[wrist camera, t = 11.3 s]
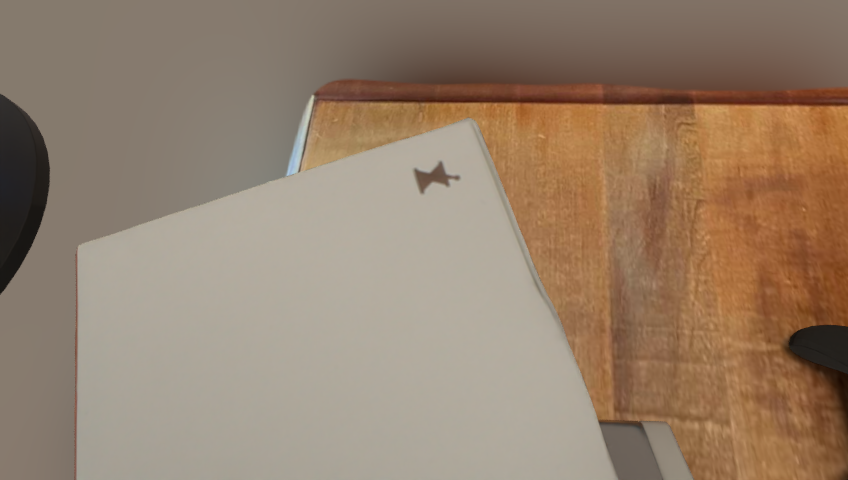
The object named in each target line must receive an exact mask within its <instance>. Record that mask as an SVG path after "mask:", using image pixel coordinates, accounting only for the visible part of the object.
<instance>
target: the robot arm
mask: <svg viewBox="0 0 848 480" xmlns="http://www.w3.org/2000/svg"><path fill="white" fill-rule="evenodd" d="M598 422H599V425H600V428H601V431H602V435H603V438H604V441H605V444H606V447H607V450H608V452H609V455H610V458H611V461H612V463H613V466H614V469H615V471H616V474H617V477H618V479H619V480H694V478H693V476H692V474H691V472H690V470H689V467H688V465H687V463H686V461H685V458H684V456H683V454H682V452H681V450H680V447H679V445H678V443H677V441H676V438H675V436H674V434H673V432H672V429H671V427H670V425H669V424H668V423H666V422H661V421H639V422H638V421H624V420H599V419H598Z"/></svg>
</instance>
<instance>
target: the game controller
mask: <svg viewBox="0 0 848 480" xmlns="http://www.w3.org/2000/svg"><path fill="white" fill-rule="evenodd" d="M789 348H790V349H791V350H792V351H793V352H794V353H795V354H797V355H798V356H800V357H802V358H804V359H806V360H809V361H811V362H813V363H817V364H820V365H823V366H826V367H829V368H832V369H835V370H838V371H841V372H844V373H846V374H848V327H846V326H837V325H820V326H811V327H808V328H804V329H801V330H799V331H797V332H796V333H794V334H793V336H792V337H791V338H790V341H789Z"/></svg>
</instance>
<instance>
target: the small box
mask: <svg viewBox="0 0 848 480" xmlns="http://www.w3.org/2000/svg"><path fill="white" fill-rule="evenodd" d="M75 480H619V479H618V477H617V474H616V471H615V469H614V466H613V463H612V461H611V458H610V455H609V452H608V450H607V447H606V444H605V441H604V438H603V435H602V431H601V428H600V425H599V422H598V419H597V416H596V413H595V410H594V407H593V404H592V401H591V399H590V396H589V393H588V390H587V388H586V385H585V382H584V380H583V377H582V375H581V372H580V370H579V367H578V365H577V363H576V360H575V358H574V355H573V353H572V351H571V349H570V346H569V344H568V341H567V338H566V335H565V332H564V329H563V326H562V323H561V321H560V319H559V317H558V314H557V312H556V310H555V308H554V306H553V304H552V302H551V300H550V298H549V297H548V295H547V293H546V290H545V288H544V286H543V284H542V282H541V280H540V277H539V275H538V273H537V271H536V269H535V266H534V264H533V261H532V259H531V256H530V254H529V251H528V249H527V246H526V243H525V241H524V238H523V236H522V233H521V231H520V229H519V226H518V224H517V221H516V219H515V216H514V214H513V211H512V208H511V206H510V203H509V201H508V198H507V196H506V193H505V190H504V188H503V185H502V183H501V180H500V178H499V175H498V173H497V171H496V168H495V166H494V163H493V161H492V158H491V156H490V153H489V151H488V148H487V146H486V143H485V141H484V138H483V136H482V133H481V131H480V128H479V126H478V124H477V122H476V121H475V120H473V119H471V118H466V119H464V120H461V121H458V122H455V123H453V124H450V125H447V126H445V127H442V128H439V129H436V130H433V131H429V132H426V133H423V134H420V135H417V136H413V137H410V138H407V139H403V140H400V141H397V142H393V143H390V144H387V145H384V146H380V147H377V148H374V149H371V150H368V151H364V152H361V153H358V154H355V155H352V156H348V157H345V158H342V159H339V160H336V161H333V162H330V163H327V164H324V165H321V166H318V167H314V168H311V169H308V170H305V171H302V172H299V173H296V174H293V175H290V176H287V177H283V178H280V179H277V180H274V181H271V182H268V183H265V184H262V185H259V186H256V187H253V188H250V189H247V190H244V191H241V192H238V193H235V194H232V195H229V196H225V197H222V198H219V199H217V200H214V201H211V202H208V203H205V204H202V205H199V206H196V207H192V208H189V209H186V210H183V211H180V212H177V213H174V214H171V215H167V216H164V217H161V218H158V219H155V220H152V221H149V222H146V223H143V224H140V225H137V226H134V227H131V228H129V229H126V230H124V231H121V232H118V233H115V234H112V235H108V236H105V237H102V238H99V239H95V240H92V241H89V242H86V243H83V244H80V245H79V246H78V248H77V251H76V337H75Z"/></svg>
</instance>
